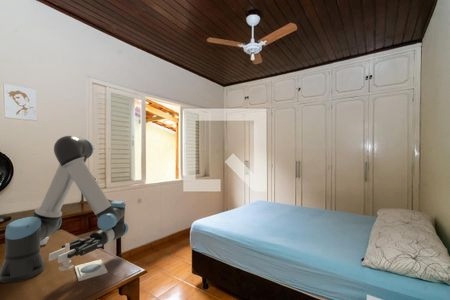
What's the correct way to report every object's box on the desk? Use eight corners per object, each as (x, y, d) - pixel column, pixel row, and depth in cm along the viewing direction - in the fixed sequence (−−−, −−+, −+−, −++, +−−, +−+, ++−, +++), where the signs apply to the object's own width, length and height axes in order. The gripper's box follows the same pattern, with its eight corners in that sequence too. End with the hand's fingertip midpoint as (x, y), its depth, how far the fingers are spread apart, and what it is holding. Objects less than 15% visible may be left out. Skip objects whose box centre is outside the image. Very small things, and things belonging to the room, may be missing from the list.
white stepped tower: (75, 267, 93) (76, 242, 93) (60, 272, 89) (61, 245, 89) (71, 263, 96) (73, 238, 96) (57, 267, 92) (58, 242, 92)
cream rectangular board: (74, 267, 105) (74, 265, 105) (100, 260, 112) (100, 259, 112) (78, 281, 95) (78, 279, 95) (107, 272, 102) (107, 270, 102)
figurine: (33, 248, 125) (34, 221, 125) (29, 244, 131) (30, 218, 131) (49, 244, 130) (50, 218, 130) (45, 240, 136) (46, 215, 136)
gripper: (115, 247, 108) (70, 272, 85) (87, 242, 112) (37, 264, 90) (116, 232, 108) (71, 252, 85) (88, 227, 112) (38, 245, 90)
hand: (54, 258), depth 87 cm, fingers closed on white stepped tower, 4 cm apart
